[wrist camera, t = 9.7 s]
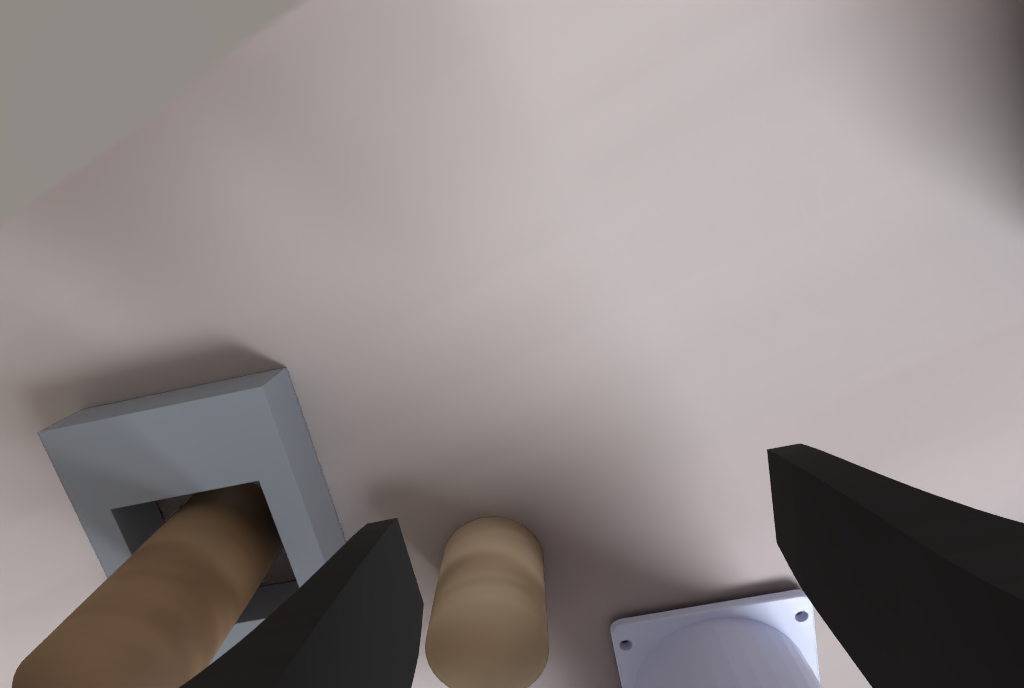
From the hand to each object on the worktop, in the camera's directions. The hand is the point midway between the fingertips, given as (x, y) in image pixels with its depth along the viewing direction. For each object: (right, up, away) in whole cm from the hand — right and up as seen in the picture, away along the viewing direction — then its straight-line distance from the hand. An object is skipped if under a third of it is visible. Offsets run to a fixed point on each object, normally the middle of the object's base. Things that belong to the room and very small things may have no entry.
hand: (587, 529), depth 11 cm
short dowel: (-2, -5, +12) cm, 13 cm away
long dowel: (-12, -4, +12) cm, 17 cm away
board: (-12, -4, +12) cm, 17 cm away
